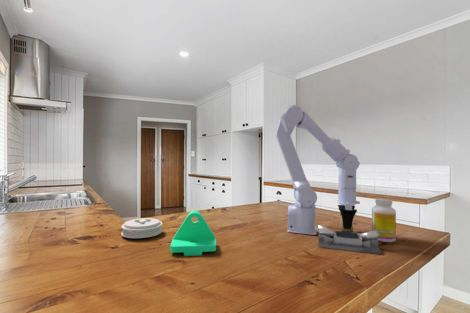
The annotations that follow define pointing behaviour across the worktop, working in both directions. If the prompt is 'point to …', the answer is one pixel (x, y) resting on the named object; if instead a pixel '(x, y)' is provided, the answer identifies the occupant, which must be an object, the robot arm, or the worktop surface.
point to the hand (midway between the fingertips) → (346, 227)
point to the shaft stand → (349, 240)
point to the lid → (141, 228)
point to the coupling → (343, 227)
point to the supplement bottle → (384, 220)
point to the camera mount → (193, 236)
